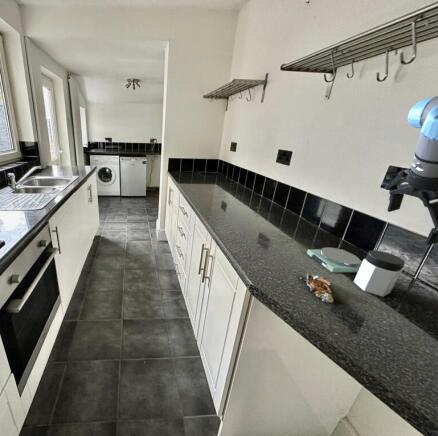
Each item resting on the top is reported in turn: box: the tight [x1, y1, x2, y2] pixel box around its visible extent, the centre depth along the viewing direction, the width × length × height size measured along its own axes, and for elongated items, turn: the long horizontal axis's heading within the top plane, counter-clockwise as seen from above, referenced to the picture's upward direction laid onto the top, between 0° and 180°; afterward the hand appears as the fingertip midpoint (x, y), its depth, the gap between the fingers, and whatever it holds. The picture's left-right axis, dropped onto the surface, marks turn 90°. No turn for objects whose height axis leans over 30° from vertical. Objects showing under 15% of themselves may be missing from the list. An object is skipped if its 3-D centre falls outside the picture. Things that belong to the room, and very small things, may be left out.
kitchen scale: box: [306, 248, 363, 273], centre depth 88 cm, size 15×13×2 cm
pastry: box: [300, 273, 334, 304], centre depth 72 cm, size 7×12×4 cm, turn 174°
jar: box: [353, 250, 406, 297], centre depth 73 cm, size 9×8×12 cm
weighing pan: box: [319, 246, 361, 266], centre depth 87 cm, size 12×12×1 cm
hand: (411, 225), depth 68 cm, fingers open, 13 cm apart
